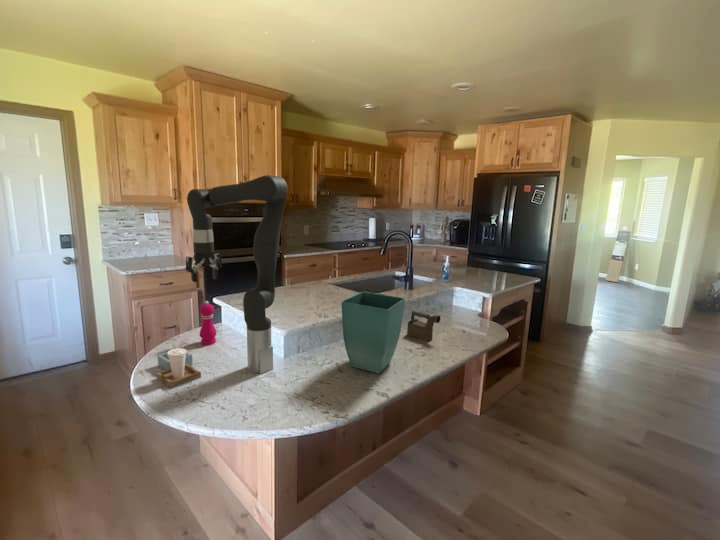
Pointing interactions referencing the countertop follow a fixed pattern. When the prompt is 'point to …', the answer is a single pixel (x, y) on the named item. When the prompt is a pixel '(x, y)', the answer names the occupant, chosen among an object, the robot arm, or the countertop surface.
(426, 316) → the dark brown boxy piece
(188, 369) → the tray
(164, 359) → the holder
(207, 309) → the pepper mill
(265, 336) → the robot arm
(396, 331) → the flower pot
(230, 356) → the countertop surface
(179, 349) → the smoothie
